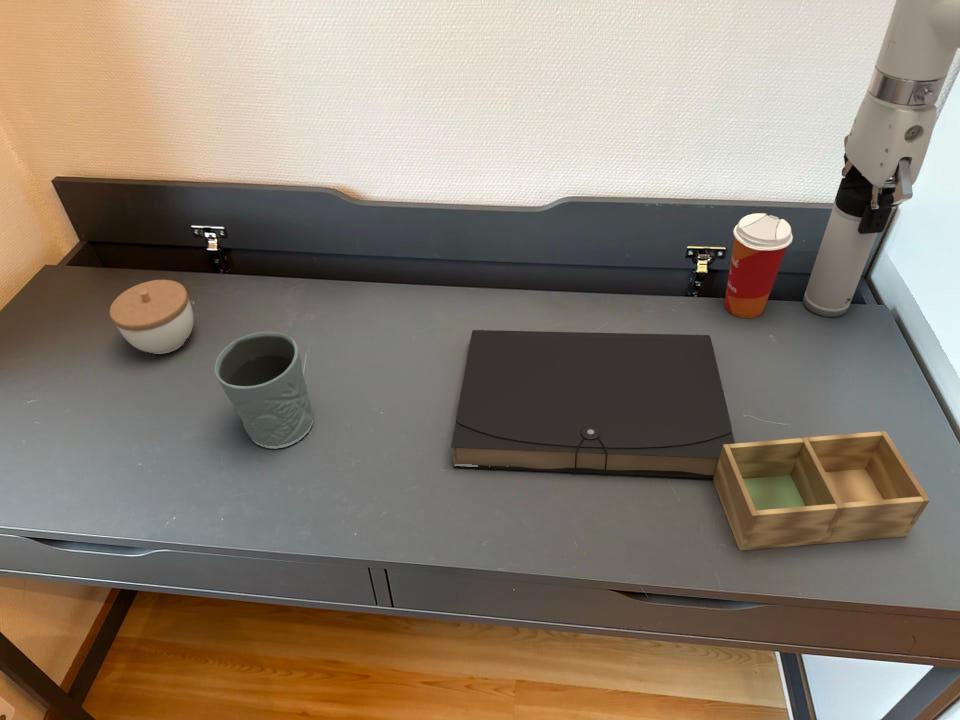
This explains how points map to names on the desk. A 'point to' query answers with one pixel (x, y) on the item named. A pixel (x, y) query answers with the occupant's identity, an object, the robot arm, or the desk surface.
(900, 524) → the storage box
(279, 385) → the green ceramic cup
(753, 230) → the paper cup
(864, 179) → the travel mug
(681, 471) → the file folder
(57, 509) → the desk surface
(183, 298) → the trinket box
